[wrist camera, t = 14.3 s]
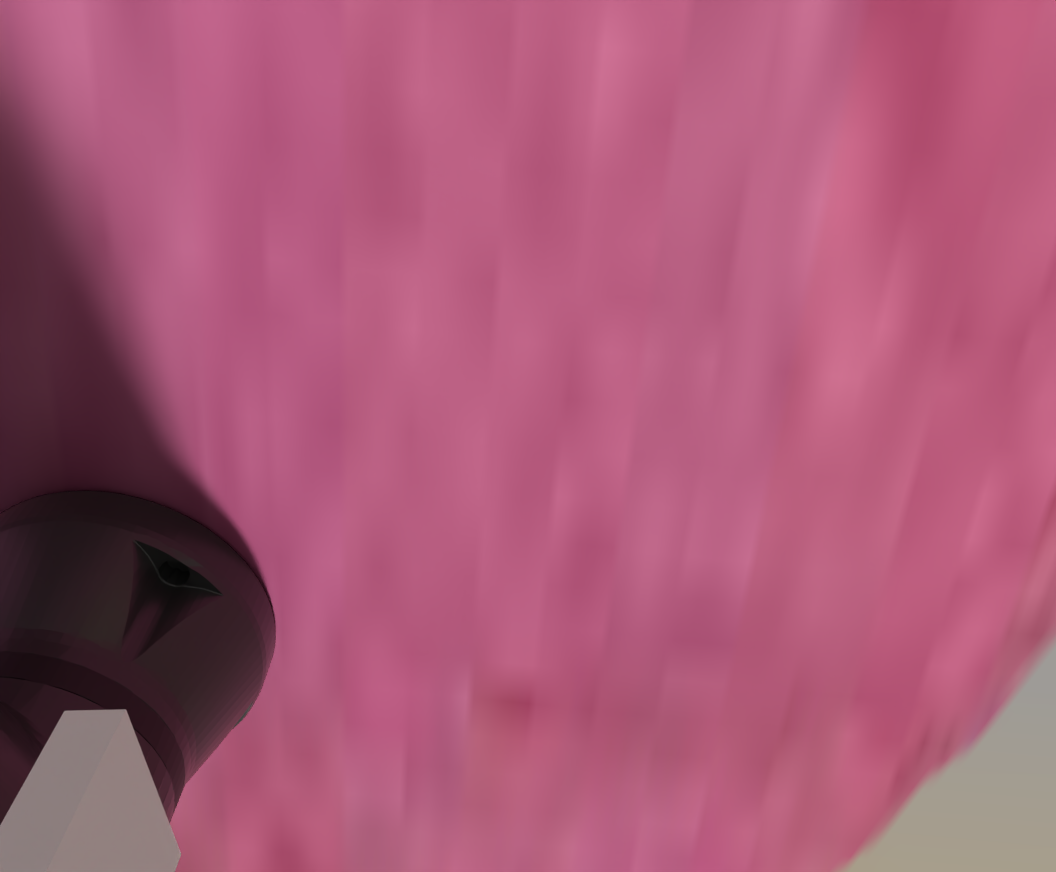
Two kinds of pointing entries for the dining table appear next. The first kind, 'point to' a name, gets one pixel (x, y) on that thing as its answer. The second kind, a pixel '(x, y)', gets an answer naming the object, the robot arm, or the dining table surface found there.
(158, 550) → the robot arm
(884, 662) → the dining table surface
